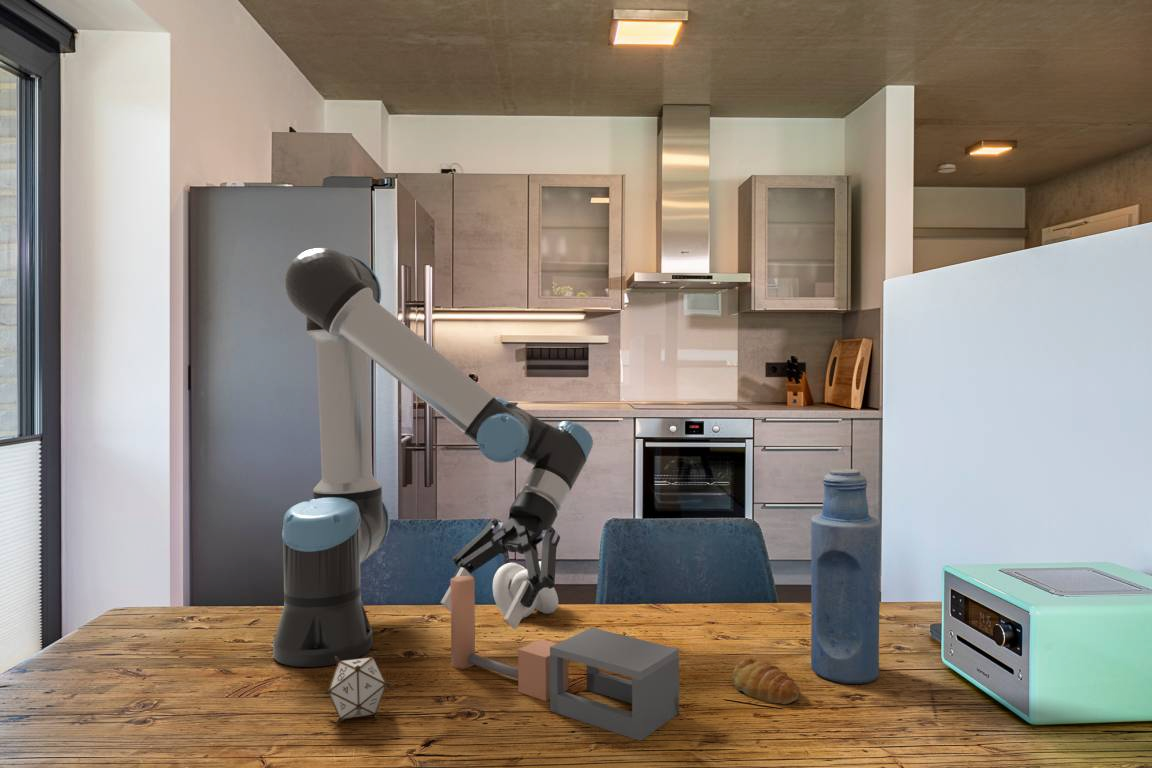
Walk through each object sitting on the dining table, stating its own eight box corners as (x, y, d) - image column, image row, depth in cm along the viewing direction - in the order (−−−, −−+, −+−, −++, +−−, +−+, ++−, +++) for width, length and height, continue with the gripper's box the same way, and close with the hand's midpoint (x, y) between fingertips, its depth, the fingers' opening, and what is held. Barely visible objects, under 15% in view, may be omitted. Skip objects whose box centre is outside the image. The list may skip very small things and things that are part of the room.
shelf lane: (550, 710, 104) (549, 647, 104) (591, 687, 112) (591, 627, 111) (640, 741, 96) (640, 671, 95) (678, 713, 103) (678, 648, 103)
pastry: (811, 698, 108) (811, 671, 108) (779, 713, 104) (779, 684, 104) (756, 677, 115) (756, 651, 115) (725, 689, 111) (725, 662, 111)
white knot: (503, 601, 152) (502, 555, 151) (565, 603, 150) (564, 557, 150) (488, 620, 140) (488, 570, 140) (555, 623, 139) (554, 573, 139)
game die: (365, 751, 101) (367, 710, 95) (307, 722, 103) (306, 680, 97) (401, 694, 108) (406, 651, 102) (347, 667, 110) (348, 624, 104)
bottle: (885, 668, 118) (887, 468, 117) (871, 691, 110) (872, 476, 109) (821, 655, 123) (822, 463, 122) (802, 676, 115) (803, 471, 114)
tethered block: (442, 666, 120) (442, 580, 119) (466, 656, 124) (466, 573, 123) (545, 701, 107) (545, 606, 107) (568, 688, 111) (568, 597, 111)
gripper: (608, 524, 127) (551, 644, 116) (495, 508, 142) (435, 612, 131) (588, 496, 123) (526, 618, 111) (474, 482, 138) (409, 588, 127)
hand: (477, 615), depth 121 cm, fingers open, 13 cm apart
